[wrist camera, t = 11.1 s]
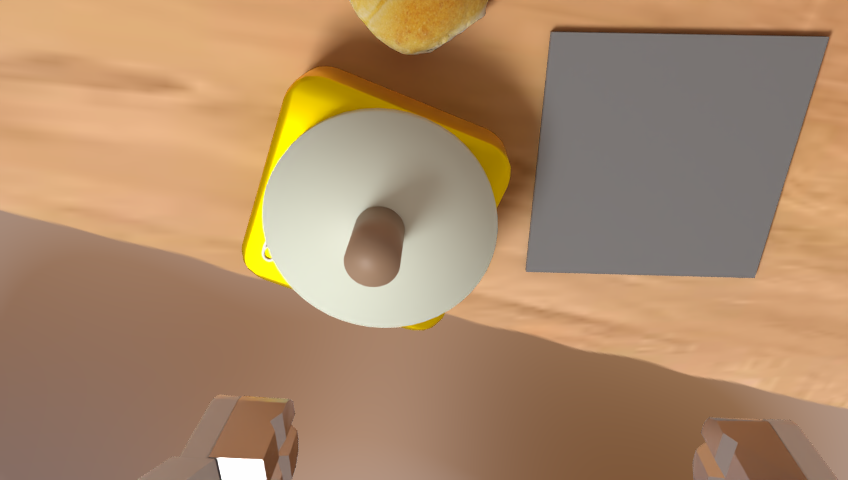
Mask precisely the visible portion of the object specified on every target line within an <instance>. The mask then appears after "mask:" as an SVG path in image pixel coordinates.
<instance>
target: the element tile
mask: <svg viewBox="0 0 848 480" xmlns="http://www.w3.org/2000/svg"><path fill="white" fill-rule="evenodd" d="M368 108H385V109H395V110H400V111H405V112H410V113H413V114H416V115H419V116H421V117H424V118H427V119H429V120H431V121H433V122H435V123H437V124H439V125H440V126H442V127H443V128H445V129H446V130H448V131H449V132H451V133H452V134H454V135H455V136H456V137H457V138H458V139H459V140H460V141H462V142H463V143H464V144H465V145H466V146H467V147H468V149H469V150H470V151H471V152H472V153H473V154H474V156H475V157H476V158H477V160H478V161H479V163H480V165H481V166H482V168H483V169H484V171H485V173H486V176H487V178H488V180H489V182H490V185H491V188H492V192H493V195H494V199H495V203H496V209H497V207H498V205H499V203H500V201H501V199H502V197H503V195H504V193H505V191H506V189H507V187H508V184H509V180H510V175H511V165H510V162H509V159H508V157H507V154H506V151H505V148H504V146H503V143H502V141H501V140H500V139H499V138H498V137H497V136H496V135H495V134H494V133H493V132H491V131H489V130H488V129H486V128H483V127H481V126H478V125H476V124H473V123H471V122H468V121H466V120H464V119H461V118H459V117H456V116H454V115H451V114H449V113H446V112H444V111H442V110H439V109H437V108H434V107H432V106H429V105H427V104H424V103H422V102H419V101H417V100H415V99H412V98H410V97H407V96H405V95H402V94H400V93H397V92H395V91H392V90H390V89H388V88H385V87H383V86H380V85H378V84H375V83H373V82H370V81H368V80H365V79H363V78H361V77H358V76H356V75H353V74H351V73H348V72H346V71H343V70H341V69H339V68H334V67H330V66H324V67H316V68H314V69H312V70H310V71H308V72H306V73H305V74H304V75H302V76H301V77H299V78H298V79H297V80H296V81H295V82H294V83H293V84H292V85H291V86H290V87H289V89H288V90H287V92H286V94H285V96H284V99H283V103H282V106H281V110H280V113H279V117H278V120H277V124H276V127H275V131H274V134H273V138H272V141H271V145H270V148H269V152H268V156H267V159H266V163H265V166H264V170H263V173H262V177H261V180H260V184H259V187H258V191H257V194H256V198H255V201H254V205H253V208H252V212H251V215H250V219H249V223H248V226H247V230H246V233H245V237H244V240H243V244H242V255H243V260H244V263H245V264H246V266H247V267H248V269H249V270H250V271H252V272H253V273H254V274H255V275H257V276H258V277H260V278H262V279H264V280H267V281H270V282H273V283H276V284H279V285H281V286H284V287H287V288H290V289H293V288H292V287H291V286H290V285H289V284H288V283H287V282H286V280H285V279H284V278H283V276H282V275H281V273H280V272H279V270H278V269H277V267H276V265H275V263H274V261H273V259H272V257H271V256H270V253H269V250H268V247H267V244H266V241H265V236H264V231H263V223H262V207H263V198H264V194H265V189H266V185H267V183H268V180H269V178H270V175H271V173H272V171H273V169H274V167H275V166H276V164H277V162H278V160H279V159H280V158H281V156H282V155H283V154H284V153H285V151H286V150H287V149H288V148H289V147H290V145H291V144H292V143H293V142H294V141H295V140H296V139H297V138H299V137H300V136H301V135H302V134H303V133H304V132H305V131H307V130H308V129H310V128H311V127H313V126H314V125H315V124H317V123H319V122H321V121H323V120H325V119H327V118H329V117H332V116H335V115H338V114H341V113H344V112H348V111H353V110H358V109H368ZM444 314H445V313H443V314H441V315H439V316H437V317H435V318H432V319H430V320H427V321H425V322H421V323H417V324H414V325H409V326H402V328H405V329H410V330H426V329H429V328H432V327H433V326H434V325H436V324H437V323H438V322H439V321H440V320H441V319H442V318H443V316H444Z"/></svg>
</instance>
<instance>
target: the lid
mask: <svg viewBox="0 0 848 480" xmlns="http://www.w3.org/2000/svg"><path fill="white" fill-rule="evenodd" d="M262 223H263V231H264V236H265V241H266V244H267V247H268V250H269V253H270V256H271V257H272V259H273V261H274V263H275V265H276V267H277V269H278V270H279V272H280V273H281V275H282V276H283V278H284V279H285V280H286V282H287V283H288V284H289V285H290V286H291V287H292V288H293V290H295V291H296V292H297V293H298V294H299V295H300V296H301V297H302V298H303V299H304V300H306V301H307V302H309V303H310V304H312V305H313V306H314V307H316V308H317V309H319V310H321V311H323V312H325V313H326V314H328V315H330V316H333V317H335V318H337V319H340V320H343V321H346V322H349V323H353V324H357V325H362V326H368V327H380V328H390V327H402V326H409V325H414V324H417V323H421V322H425V321H427V320H430V319H432V318H435V317H437V316H439V315H441V314H443V313H445V312H446V311H448V310H450V309H451V308H453V307H454V306H456V305H457V304H458V303H460V302H461V301H462V300H463V299H464V298H465V297H466V296H467V295H469V294H470V293H471V292H472V290H473V289H474V288H475V287H476V286H477V284H478V283H479V282H480V280H481V279H482V277H483V275H484V274H485V272H486V271H487V268H488V266H489V264H490V262H491V259H492V257H493V253H494V250H495V246H496V240H497V233H498V216H497V209H496V203H495V199H494V195H493V192H492V188H491V185H490V182H489V180H488V178H487V176H486V173H485V171H484V169H483V168H482V166H481V165H480V163H479V161H478V160H477V158H476V157H475V156H474V154H473V153H472V152H471V151H470V150H469V149H468V147H467V146H466V145H465V144H464V143H463V142H462V141H460V140H459V139H458V138H457V137H456V136H455V135H454V134H452V133H451V132H449V131H448V130H446V129H445V128H443V127H442V126H440V125H439V124H437V123H435V122H433V121H431V120H429V119H427V118H424V117H421V116H419V115H416V114H413V113H410V112H405V111H400V110H395V109H385V108H368V109H358V110H353V111H348V112H344V113H341V114H338V115H335V116H332V117H329V118H327V119H325V120H323V121H321V122H319V123H317V124H315V125H314V126H313V127H311V128H310V129H308V130H307V131H305V132H304V133H303V134H302V135H301V136H300V137H299V138H297V139H296V140H295V141H294V142H293V143H292V144H291V145H290V147H289V148H288V149H287V150H286V151H285V153H284V154H283V155H282V156H281V158H280V159H279V160H278V162H277V164H276V166H275V167H274V169H273V171H272V173H271V175H270V178H269V180H268V183H267V185H266V189H265V194H264V198H263V207H262Z"/></svg>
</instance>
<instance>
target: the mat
mask: <svg viewBox="0 0 848 480" xmlns="http://www.w3.org/2000/svg"><path fill="white" fill-rule="evenodd" d="M828 40H829V37H826V36H776V35H719V34H663V33H606V32H551V34H550V43H549V53H548V62H547V71H546V81H545V90H544V100H543V109H542V119H541V128H540V138H539V147H538V157H537V166H536V176H535V185H534V195H533V204H532V214H531V223H530V233H529V242H528V251H527V261H526V272H553V273H590V274H627V275H664V276H700V277H737V278H755V275H756V272H757V269H758V265H759V262H760V259H761V256H762V252H763V249H764V246H765V243H766V240H767V236H768V233H769V230H770V227H771V223H772V220H773V217H774V214H775V211H776V207H777V204H778V201H779V198H780V194H781V191H782V188H783V185H784V181H785V178H786V175H787V172H788V169H789V165H790V162H791V159H792V156H793V152H794V149H795V146H796V143H797V140H798V136H799V133H800V130H801V127H802V123H803V120H804V117H805V114H806V110H807V107H808V104H809V101H810V98H811V94H812V91H813V88H814V85H815V81H816V78H817V75H818V72H819V69H820V65H821V62H822V59H823V56H824V52H825V49H826V46H827V43H828Z"/></svg>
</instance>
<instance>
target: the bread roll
mask: <svg viewBox="0 0 848 480" xmlns="http://www.w3.org/2000/svg"><path fill="white" fill-rule="evenodd" d="M349 1H350V3H351V5H352V7H353V9H354V10H355V12H356V14H357V15H358V17H359V18H360V19H361V20H362V21H363V22H364V24H365V25H366V26H367V27H368V29H369V30H370V31H371V32H372V33H373V34H374V35H375V36H376V37H377V38H378V39H379V40H380V41H382V42H383V43H384V44H386V45H387V46H389V47H390V48H392V49H394V50H395V51H397V52H399V53H402V54H407V55H415V54H420V53H431V52H433V51H434V50H436V49H437V48H438V47H440V46H442V45H443V44H445V43H446V42H448V41H449V40H452V39H453V38H454V37H455V36H456V35H458V34H460V33H462V32H463V31H464V30H466V29H467V28H468V27H469V26H470V25H472V24H473V23H475V22H476V21H478V20H479V19H481V18H482V17H484V16H485V13H486V6H487V3H488V0H349Z"/></svg>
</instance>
